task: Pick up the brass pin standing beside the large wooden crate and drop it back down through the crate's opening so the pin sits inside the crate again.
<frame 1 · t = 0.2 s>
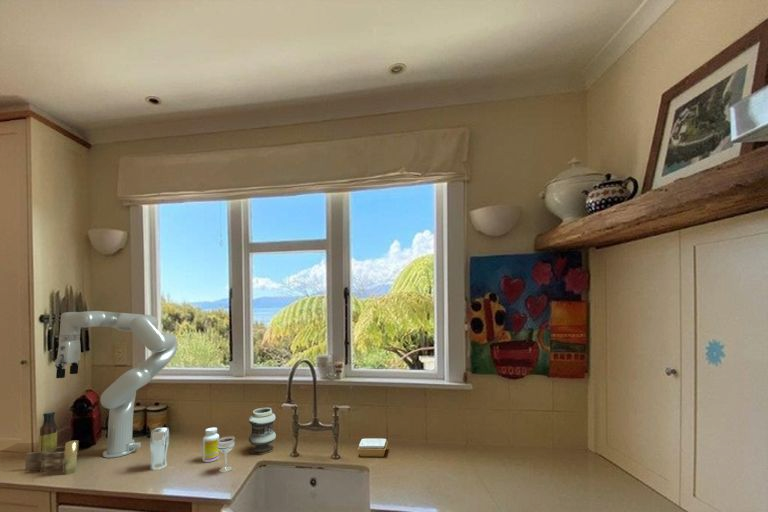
hand: (67, 375, 178), 36 cm above the counter, tool pointing down, fingers open, 9 cm apart
apothecary jar: (262, 450, 177), on the counter
brass pin: (69, 472, 158), on the counter
wineglass: (225, 469, 158), on the counter
wooden crate: (58, 467, 163), on the counter
soap dish: (373, 454, 171), on the counter
supplement bottle: (210, 460, 168), on the counter
beer glass: (158, 467, 162), on the counter
sauce bottle: (47, 457, 175), on the counter
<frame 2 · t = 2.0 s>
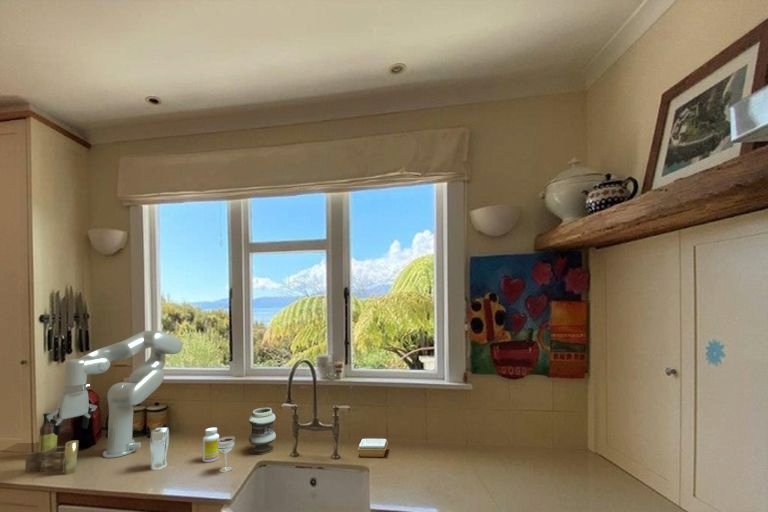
hand: (71, 431, 160), 16 cm above the counter, tool pointing down, fingers open, 9 cm apart
nothing on the counter moved.
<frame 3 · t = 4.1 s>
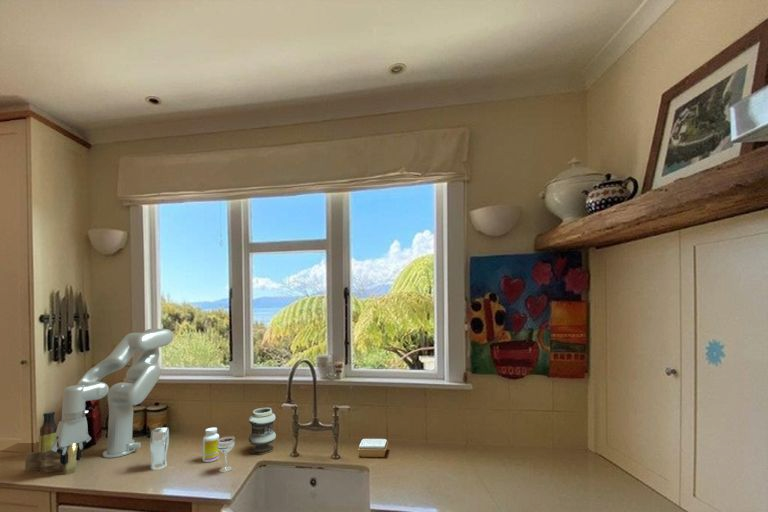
hand: (70, 461, 159), 4 cm above the counter, tool pointing down, fingers closed on brass pin, 4 cm apart
brass pin: (69, 472, 158), on the counter, touching gripper
everything else where it was.
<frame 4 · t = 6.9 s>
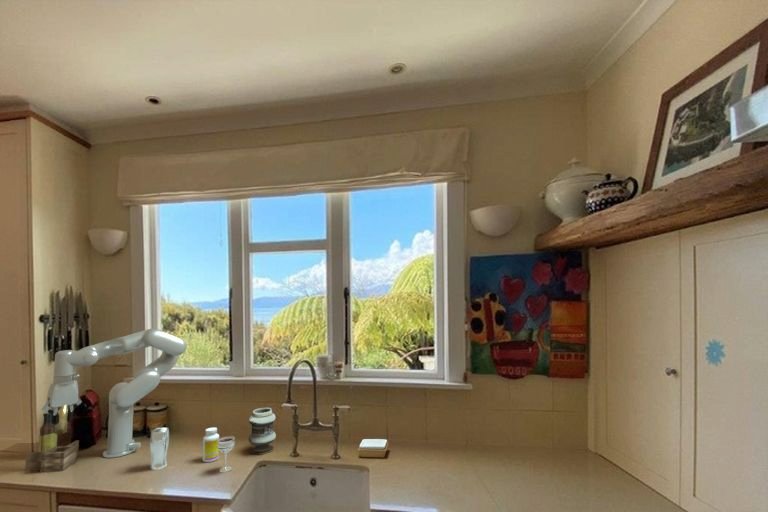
hand: (61, 422, 165), 19 cm above the counter, tool pointing down, fingers closed on brass pin, 4 cm apart
brass pin: (60, 432, 165), point 14 cm above the counter, touching gripper
everything else where it was.
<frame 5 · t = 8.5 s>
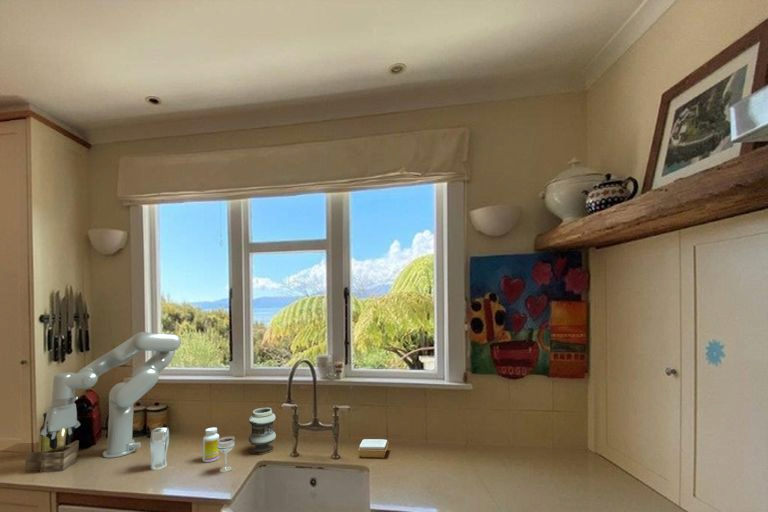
hand: (59, 445, 164), 9 cm above the counter, tool pointing down, fingers closed on brass pin, 4 cm apart
brass pin: (58, 456, 164), point 5 cm above the counter, touching gripper
when the fingers open (8 cm above the counter, at t = 9.7 s): brass pin drops 4 cm, resting in wooden crate.
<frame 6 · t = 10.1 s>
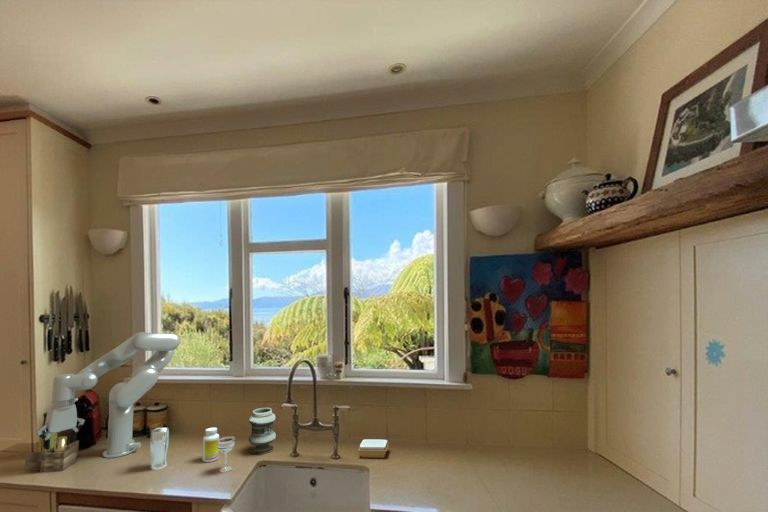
hand: (60, 445, 164), 9 cm above the counter, tool pointing down, fingers open, 8 cm apart
brass pin: (58, 467, 163), resting in wooden crate
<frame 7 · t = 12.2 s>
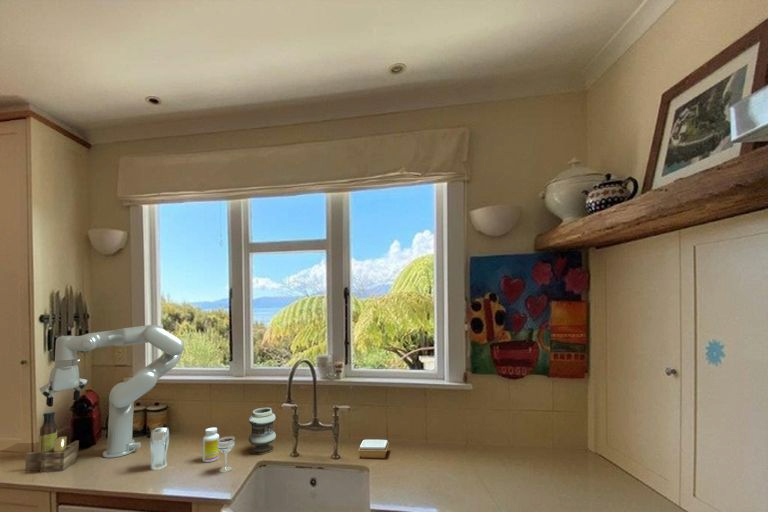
hand: (63, 403, 169), 26 cm above the counter, tool pointing down, fingers open, 9 cm apart
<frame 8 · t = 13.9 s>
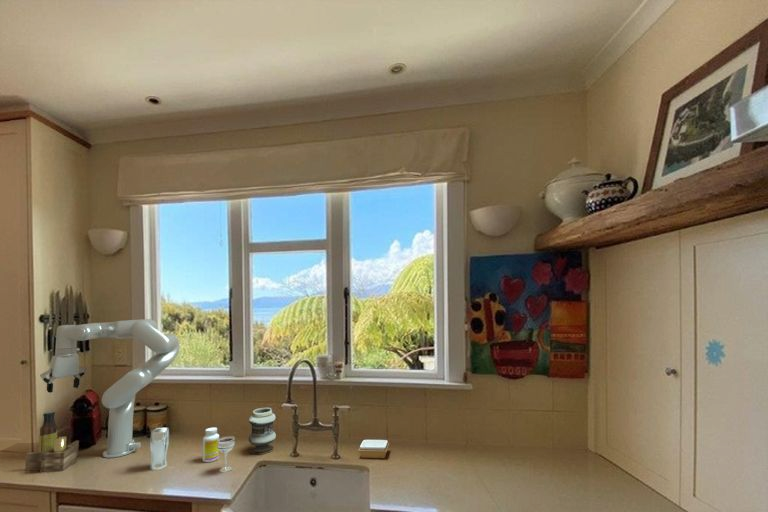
hand: (63, 389, 175), 30 cm above the counter, tool pointing down, fingers open, 9 cm apart
at the end: brass pin 0.0 cm off-centre on the wooden crate, point 0.0 cm above the wooden crate's base; brass pin tilted 0°; the gripper is holding nothing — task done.
